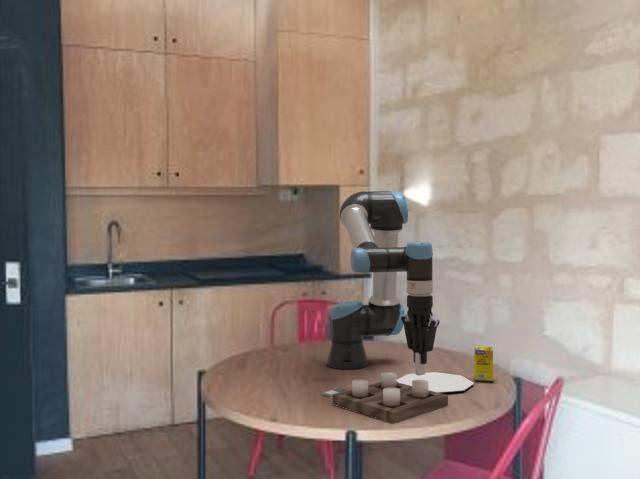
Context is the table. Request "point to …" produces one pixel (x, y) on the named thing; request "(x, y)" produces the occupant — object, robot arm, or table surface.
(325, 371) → the table surface
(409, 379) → the plate
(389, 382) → the button
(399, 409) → the board
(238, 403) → the table surface
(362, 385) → the button
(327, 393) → the card
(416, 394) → the button
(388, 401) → the button
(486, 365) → the supplement box
